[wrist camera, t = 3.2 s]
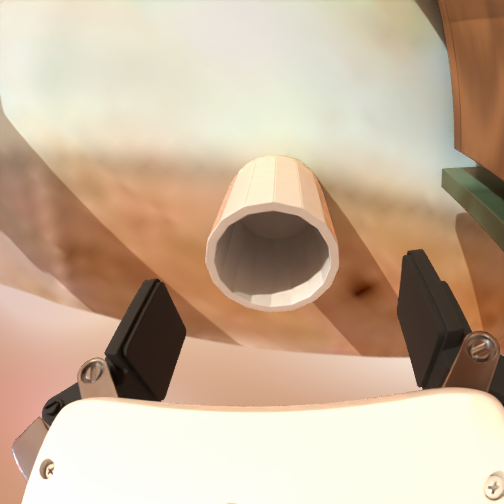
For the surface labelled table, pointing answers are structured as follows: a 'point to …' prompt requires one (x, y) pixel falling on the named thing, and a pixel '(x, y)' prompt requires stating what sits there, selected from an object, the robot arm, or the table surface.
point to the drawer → (477, 108)
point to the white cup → (273, 237)
